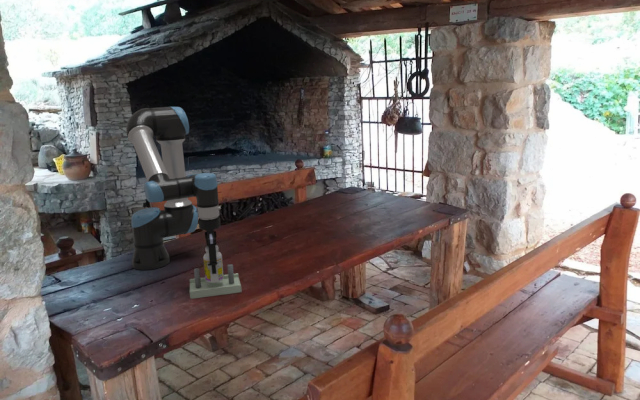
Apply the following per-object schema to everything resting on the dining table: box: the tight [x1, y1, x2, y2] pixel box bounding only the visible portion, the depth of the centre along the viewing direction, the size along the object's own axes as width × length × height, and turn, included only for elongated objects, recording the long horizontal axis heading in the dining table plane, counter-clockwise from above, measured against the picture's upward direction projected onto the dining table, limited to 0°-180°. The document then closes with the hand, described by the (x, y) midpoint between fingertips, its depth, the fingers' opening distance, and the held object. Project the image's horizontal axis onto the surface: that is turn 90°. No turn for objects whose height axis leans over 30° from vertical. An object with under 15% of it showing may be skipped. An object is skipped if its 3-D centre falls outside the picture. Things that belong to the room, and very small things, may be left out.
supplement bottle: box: [202, 244, 225, 283], centre depth 181 cm, size 7×7×13 cm
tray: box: [189, 263, 243, 300], centre depth 182 cm, size 18×12×8 cm, turn 104°
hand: (214, 277), depth 182 cm, fingers closed on supplement bottle, 7 cm apart
